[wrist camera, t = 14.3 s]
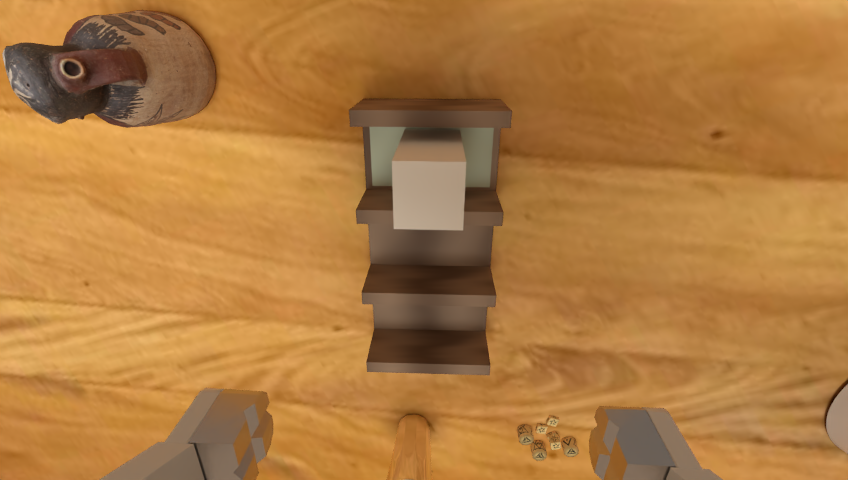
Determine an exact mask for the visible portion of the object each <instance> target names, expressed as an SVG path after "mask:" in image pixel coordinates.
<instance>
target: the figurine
mask: <svg viewBox="0 0 848 480" xmlns="http://www.w3.org/2000/svg"><path fill="white" fill-rule="evenodd" d="M2 54H3V60H4V64H5V68H6V72H7V76H8V78H9V81H10V84H11V87H12V89H13V91H14V92H15V93H16V95H17V96H18V97H19V98H20V99H21V100H22V101H23V102H24V103H26V104H27V105H28V106H29V107H31V108H32V109H33V110H35V111H36V112H38V113H39V114H41V115H42V116H44V117H45V118H47V119H49V120H51V121H52V122H55V123H57V124H60V123H63V122H65V121H67V120H69V119H75V118H78V119H84V116H85V115H88V114H91V113H94V114H96V115H97V116H98V117H100V118H101V119H103V120H105V121H106V122H108V123H110V124H113V125H117V126H122V127H140V126H151V125H156V124H160V123H166V122H172V121H178V120H182V119H186V118H188V117H191V116H193V115H195V114H196V113H198V112H200V111H201V110H202V109H203V108H204V107H205V106H206V104H207V103H208V102H209V100H210V98H211V96H212V94H213V92H214V87H215V81H216V74H215V65H214V62H213V60H212V57H211V54H210V52H209V50H208V48H207V47H206V45H205V44H204V42H203V40H202V39H201V37H200V36H199V35H197V34H196V33H195V32H194V31H193V30H192V29H191V28H190V27H189V26H188V25H187V24H186V23H184V22H183V21H181V20H180V19H178V18H177V17H174V16H171V15H168V14H165V13H162V12H154V11H143V10H137V11H132V12H126V13H120V14H109V15H93V16H89V17H86V18H84V19H81V20H79V21H77V22H76V23H74V25H73V26H72V28H71V29H70V30H69V31H68V32H67V34H66V36H65V40H64V43H63V46H50V45H43V44H36V43H19V44H15V45H13V46H6V48H5V49H4V51H3V53H2Z"/></svg>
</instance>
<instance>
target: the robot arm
mask: <svg viewBox="0 0 848 480" xmlns="http://www.w3.org/2000/svg"><path fill="white" fill-rule="evenodd" d="M268 405H269V399H268V395H267V393H266V392H263V391H249V390H235V389H215V388H205V389H203V390H202V391H200V392H199V394H198V395H197V396H196V398H195V399H194V401H193V402H192V404H191V405H190V406H189V408H188V409H187V411H186V412H185V414H184V415H183V416H182V418H181V419H180V421H179V422H178V424H177V425H176V426H175V428H174V429H173V431H172V432H171V434H170V435H169V436H168V438H167V439H166V441H165V442H158V443H156V444H155V445H153V446H151V447H150V448H148V449H147V450H145V451H144V452H142V453H140V454H139V455H137V456H136V457H134V458H133V459H131V460H129V461H128V462H126V463H125V464H123V465H122V466H120V467H119V468H117V469H115V470H114V471H112V472H111V473H109V474H108V475H106V476H104V477H103V478H101V479H100V480H256V478H257V476H258V473H259V472H258V467H257V463H258V462H259V461H260V460H262V459H263V458H264V457H265V456H266V455H267V452H268V450H269V447H270V445H271V440H272V435H273V419H272V416H271V415H270V414H269V413H268V412H267V411H266V409H267V407H268ZM594 418H595V420H596V423H597V427H595V428H594V429H593V430H592V431H591V434H590V439H589V453H590V458H591V463H592V466H593V469H594V472H595V473H596V474H597V475H598V476H599V477H600V478H601V479H602V480H723V479H721V478H720V477H719V476H717V475H716V474H715V473H713V472H712V471H711V470H709V469H702V467H701V466H700V464H699V462H698V461H697V459H696V457H695V456H694V454H693V452H692V451H691V449H690V447H689V446H688V444H687V442H686V441H685V439H684V437H683V436H682V434H681V432H680V431H679V429H678V427H677V426H676V424H675V422H674V421H673V419H672V417H671V416H670V414H669V412H668V411H667V410H665V409H664V408H644V407H642V408H640V407H616V406H599V407H598V409H597V410H596V414H595V417H594ZM826 428H827V432H828V435H829V437H830V439H831V440H832V442H833V443H834V444H835V445H836V446H837V447H839V448H840V449H841V450H843V451H844V452H846V453H847V454H848V384H847V385H846V386H845V387H844V388H843V389H842V391H841V392H840V393H839V394H838V395H837V397H836V398H835V400H834V401H833V403H832V405H831V407H830V409H829V412H828V415H827V420H826Z"/></svg>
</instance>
